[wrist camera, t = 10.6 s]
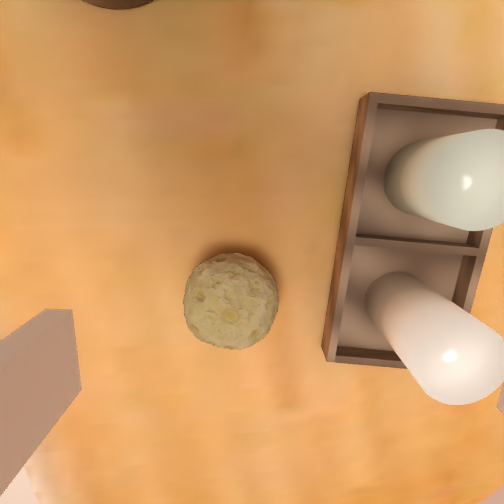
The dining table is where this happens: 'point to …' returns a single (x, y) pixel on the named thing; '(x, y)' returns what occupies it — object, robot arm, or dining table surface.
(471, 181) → the white egg-shaped capsule
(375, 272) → the tray
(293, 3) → the dining table surface
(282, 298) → the dining table surface
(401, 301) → the white rounded tapered cylinder
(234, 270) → the decorative item
